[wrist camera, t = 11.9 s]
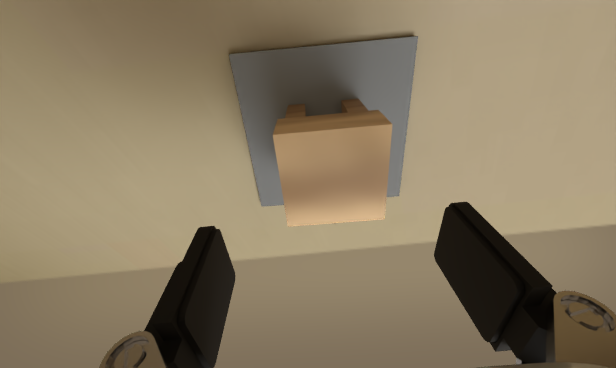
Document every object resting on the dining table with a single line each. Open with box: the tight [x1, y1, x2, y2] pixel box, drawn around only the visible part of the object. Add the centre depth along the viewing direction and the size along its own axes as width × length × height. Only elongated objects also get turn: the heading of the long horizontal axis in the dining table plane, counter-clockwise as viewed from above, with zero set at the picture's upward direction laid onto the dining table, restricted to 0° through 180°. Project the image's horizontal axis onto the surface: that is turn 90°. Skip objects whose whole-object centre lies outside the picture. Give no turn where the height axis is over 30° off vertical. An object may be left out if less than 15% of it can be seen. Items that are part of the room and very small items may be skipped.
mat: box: [229, 36, 418, 206], centre depth 23 cm, size 14×14×1 cm
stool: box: [273, 99, 392, 227], centre depth 19 cm, size 6×6×8 cm
